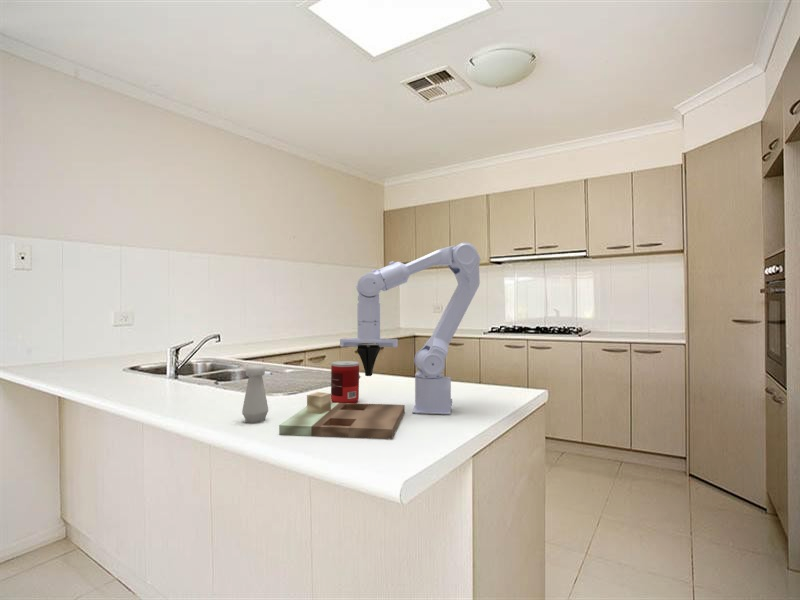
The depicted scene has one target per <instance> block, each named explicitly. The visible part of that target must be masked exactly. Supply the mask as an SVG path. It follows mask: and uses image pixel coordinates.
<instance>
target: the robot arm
mask: <svg viewBox="0 0 800 600" xmlns="http://www.w3.org/2000/svg"><path fill="white" fill-rule="evenodd" d="M480 262H481V257H480V255H479V252H478V250H477V248H476V247H475V246H474V245H473V244H472V243H469V242H461V243H459V244H457V245H456V246H455V245H451V246H447V247H443V248H439V249H437V250H434V251H433V252H430V253H428V254H426V255H423V256H421V257H419V258H417V259H414V260H412V261H409V262H407V263H403V262H400V261H396V262H395V261H394V260H392V261H389V263H388V265H386V266H383V267H382V268H378V269H372V270H371V272H367V273H365V274H363V275H362V276H361V277H360V278H359V279H358V280H357V284H356V286H355V287H356V291H357V293H358V295H357V301H358V303H357V305H356V306H357V309H356V310H357V318H356V319H357V338H356V337H354V338H339V347H342V348H344V347H357V349H356V351H357V353H358V356H359V358H360V360H361V363H362V366H363V368H364V369H363V370H364V375H365V377H371V376H373V371H374V366H375V364H376V363H375V362H376V360H377V357H378V355H379V353H380V350H381V348H385V347H386V348H398V345H399V343H398V342H399V340H398V338H381V303H380V293H381V292H382V291H383V292H386V291H389V290H391V289H393V288H396V287H398V286H401V285H403V284H406V283H407V282H408V280H409V278H410V276H411V275H414V274H417V273H418V272H421V271H424V270H427V269H429V268H432V267H434V266H439V267H446V266H447V267H448V268H449V269H450V270H451V271H452V273H453V274H454V276H455V279H456V281H457V286H456V288H455V290H454V292H453V293H452V295H451V297H450V299H449V301H448V303H447V305H446V307H445V309H444V311H443V313H442V315H441V317H440V319H439V321H438V322H437V324H436V327H435V329H434V330H433V332H432V334H431V336H430V337H429V338H428V340H427V341H425V343H424V345H423V347H422V348H421V349H419V350H418V351H417V352H416V353H415V355H414V359H413V360H414V365H415V367H416V369H417V371H416V372H415V373H414V376H415V377H414V378H415V379H414V384H415V385H414V391H415V393H414V399H415V400H414V407H413V409H412V410H411V411H412V412H411V413H412V414H428V415H431V414H432V415H451V411H452V407H453V398H451V397H452V393H451V392H452V388H451V387H452V380H451V379H452V377H451V376H444V373H443V372H444V370H445V368H446V358H447V356H448V353H449V346H450V343H451V341H452V340H453V338H454V336H455V333H456V332H457V330H458V327H459V325H460V324H461V321H463V319H464V316H465V314H466V312H467V310H468V308H469V306H470V305H471V302H472V300H473V298H474V296H475V294H476V292H477V290H478V289H479V286H480V283H481V281H480V279H481V278H480Z"/></svg>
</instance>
